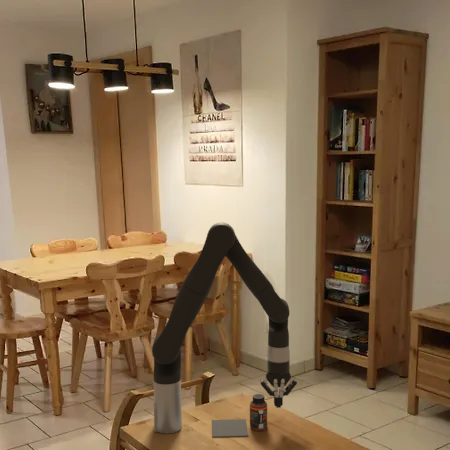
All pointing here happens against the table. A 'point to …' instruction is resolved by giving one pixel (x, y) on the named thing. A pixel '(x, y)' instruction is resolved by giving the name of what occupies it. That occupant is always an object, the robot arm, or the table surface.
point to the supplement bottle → (258, 413)
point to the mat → (229, 428)
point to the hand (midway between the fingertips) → (278, 406)
